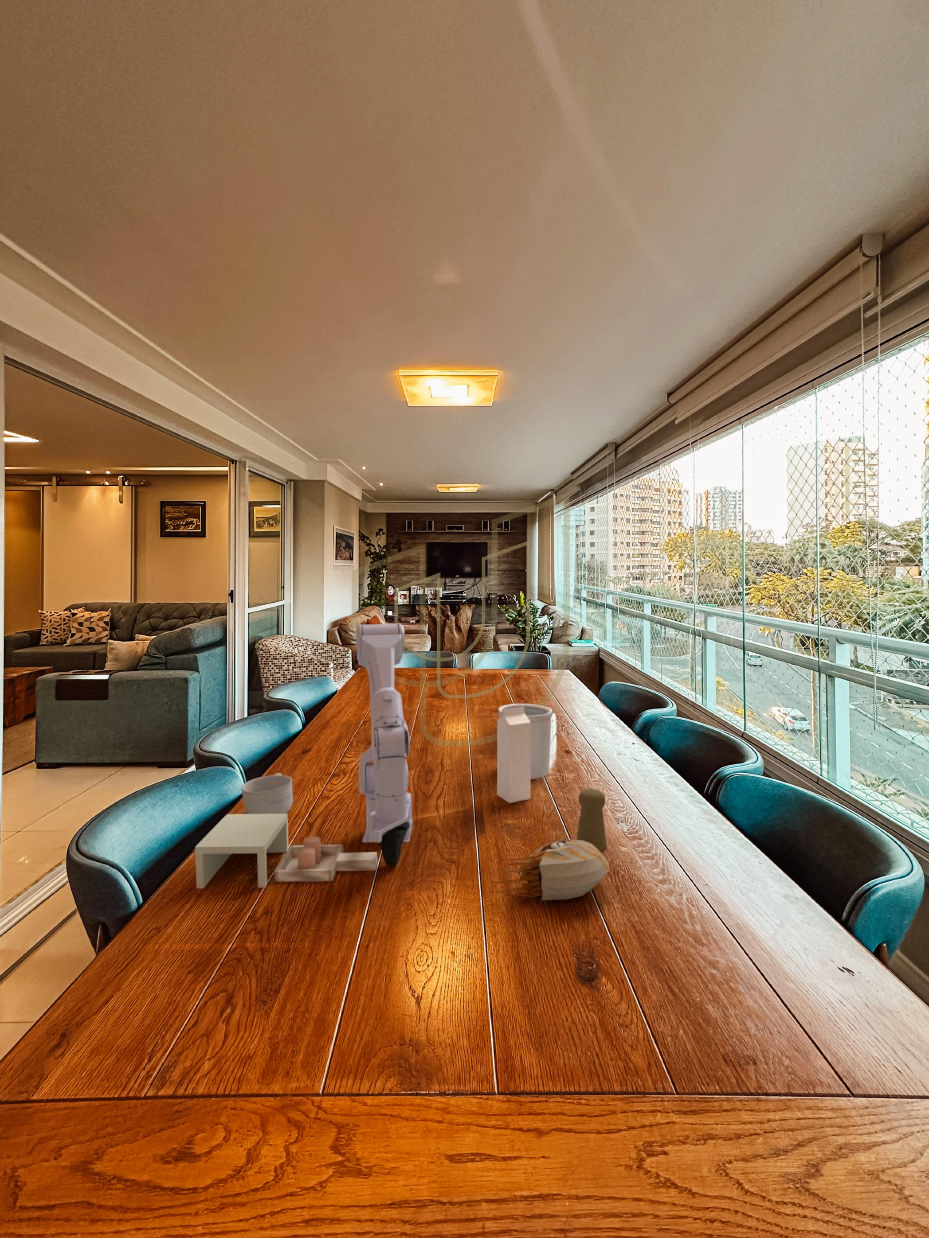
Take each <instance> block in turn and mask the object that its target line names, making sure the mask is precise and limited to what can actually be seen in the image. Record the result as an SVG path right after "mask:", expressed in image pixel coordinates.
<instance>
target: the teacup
mask: <svg viewBox="0 0 929 1238" xmlns="http://www.w3.org/2000/svg"><path fill="white" fill-rule="evenodd" d="M240 790H241V791H242V802H243V808H244V812H245V814H287V813H288V812H289V810H290V809H291V808H292V807H293V802H294V801H293V800H294V797H293V796H294V795H293V778H292V777H291V776H288V775H284V774H283V775H282V773H280V772H276V773H274V774H273V775H265V776H261V777H256V778H253V779H251V780H248V781H246V782H245V783H244V784H243V783H242V785H241V788H240Z"/></svg>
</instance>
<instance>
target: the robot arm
mask: <svg viewBox="0 0 929 1238" xmlns="http://www.w3.org/2000/svg"><path fill="white" fill-rule="evenodd" d="M405 637H406V636H405V628H404V625H403V624H402V623H401V622H398V623H382V624H379V623H377V624H375V623H374V624H362V623H358V624H357V625H356V627H355V650H356V660H357V661H358V662H357V663H358V665H359V666H362V667H364V668H365V669H366V671H367V674H368V678H369V679H368V680H369V699H370V700H369V701H370V702H369V703H370V722H371V723H370V727H371V746H370V747H368V748H367V749H366V750H365V751H364V752H362V753H361V755H360V757H359V758H358V759H359V760H358V762H359V763H358V764H359V765H358V786H359V792H360V793H361V794H362V795H365V801H366V802H365V804H366V805H365V806H366V807H365V808H366V809H365V810H366V811H365V813H366V816H365V817H366V818H365V819H366V820H365V821H366V824H365V825H366V829H365V832H364V834H363V837H362V841H361V842H362V843H377V844H378V845H379V847H380V851H381V854H382V858H383V860H384V864H385V865H386V866H391V867H396V866H397V865H398V864H399V861H400V858H401V852H402V849H403V843H409V842H410V839H411V834H412V830H413V825H414V824H413V821H414V820H413V819H412V817H413V816H412V815H413V813H412V809H413V808H412V803H413V801H412V794H411V792H408V791H407V789H408V788H409V768H408V767H409V766H408V763H407V757H409V755H410V746H411V743H410V734H409V729H408V725H407V721H406V719H404V718H405V717H404V716H405V715H404V710H403V700H402V695H401V693H400V692H398V690H397V689H395V666H396V665H399V664H400V663H401V660H402V658H403V653H404V650H405V643H406V642H405V639H406V638H405ZM370 761H373V762H370ZM385 865H384V866H385Z"/></svg>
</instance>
